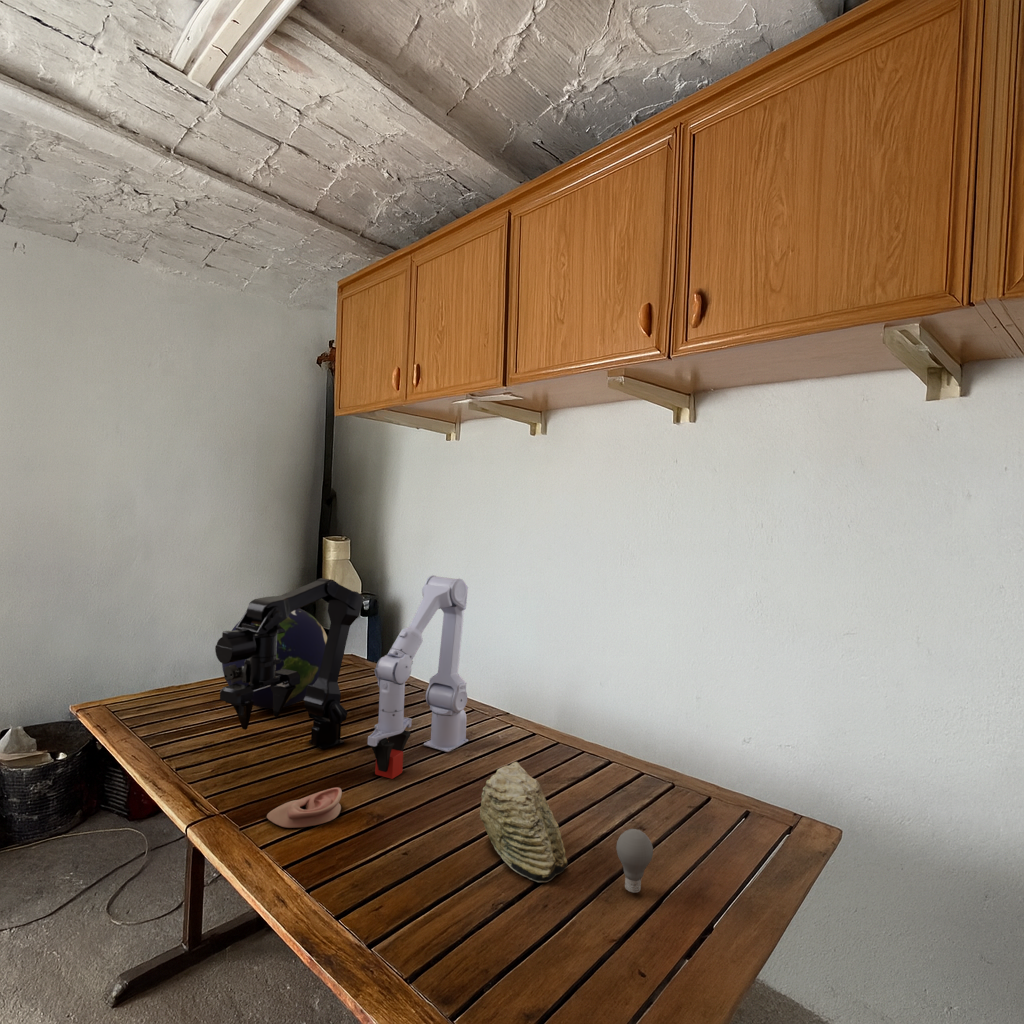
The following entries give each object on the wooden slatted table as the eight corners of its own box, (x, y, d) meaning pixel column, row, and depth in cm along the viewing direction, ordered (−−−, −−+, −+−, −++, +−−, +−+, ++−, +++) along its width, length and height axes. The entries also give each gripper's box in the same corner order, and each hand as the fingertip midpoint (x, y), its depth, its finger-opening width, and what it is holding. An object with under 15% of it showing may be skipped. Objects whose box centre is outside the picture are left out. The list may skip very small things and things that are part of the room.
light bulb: (610, 879, 108) (613, 822, 108) (644, 879, 109) (647, 822, 109) (619, 902, 102) (622, 840, 102) (655, 901, 103) (658, 840, 103)
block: (385, 768, 149) (386, 747, 149) (402, 772, 147) (403, 751, 147) (375, 774, 146) (375, 753, 145) (392, 779, 144) (393, 757, 143)
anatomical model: (258, 803, 122) (290, 777, 133) (257, 823, 122) (290, 796, 133) (321, 812, 119) (349, 786, 130) (320, 833, 119) (348, 805, 130)
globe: (289, 685, 209) (292, 594, 208) (348, 705, 191) (352, 606, 191) (199, 706, 185) (203, 604, 184) (258, 732, 167) (262, 619, 167)
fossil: (501, 827, 124) (504, 751, 124) (575, 868, 111) (578, 784, 111) (467, 843, 118) (470, 763, 118) (541, 889, 105) (545, 799, 105)
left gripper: (267, 642, 156) (265, 705, 156) (203, 658, 139) (200, 728, 139) (302, 648, 151) (300, 713, 152) (240, 665, 134) (237, 738, 135)
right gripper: (395, 697, 154) (393, 752, 155) (357, 714, 141) (355, 774, 141) (419, 701, 151) (417, 758, 152) (383, 720, 138) (381, 781, 138)
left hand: (260, 722), depth 145 cm, fingers open, 9 cm apart
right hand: (389, 766), depth 146 cm, fingers open, 4 cm apart
